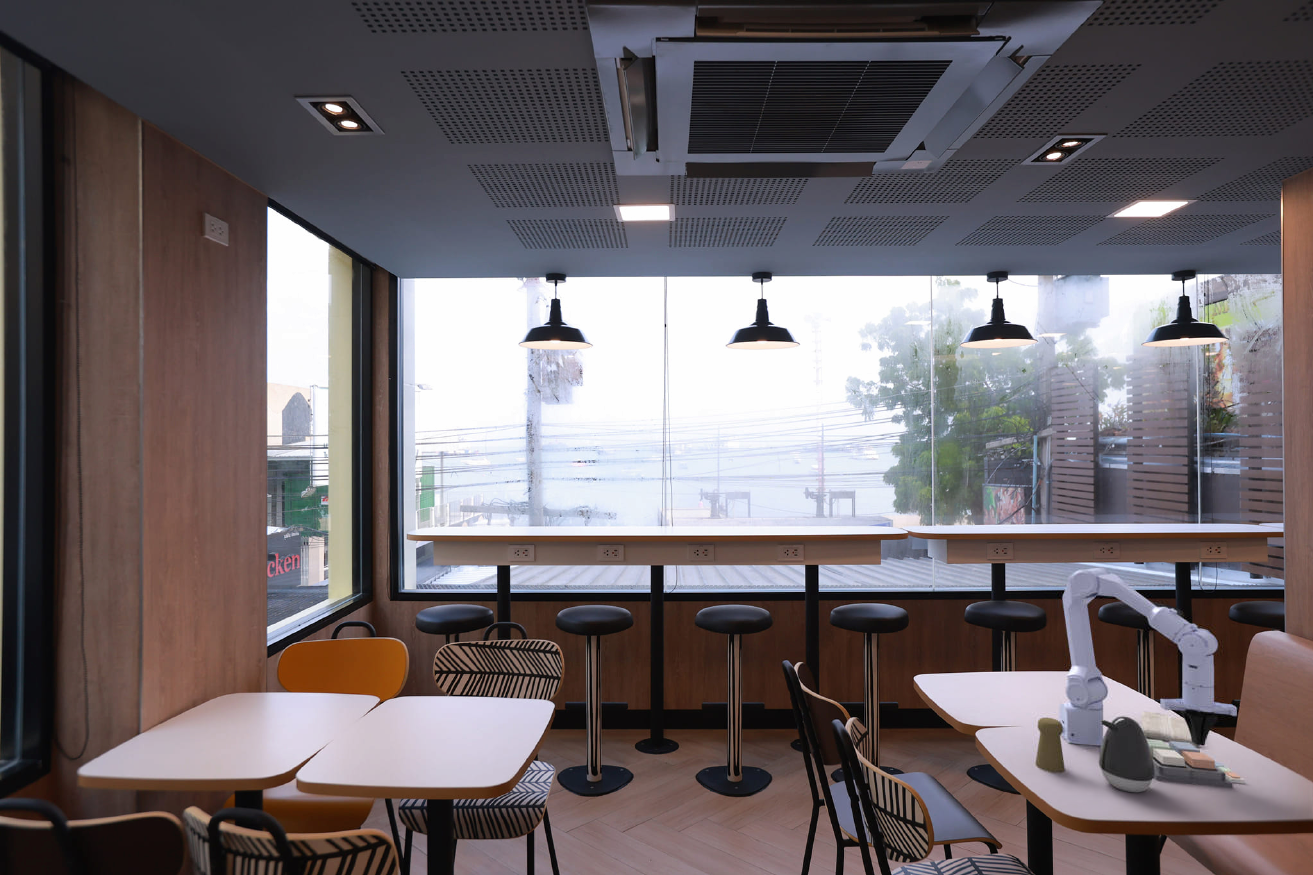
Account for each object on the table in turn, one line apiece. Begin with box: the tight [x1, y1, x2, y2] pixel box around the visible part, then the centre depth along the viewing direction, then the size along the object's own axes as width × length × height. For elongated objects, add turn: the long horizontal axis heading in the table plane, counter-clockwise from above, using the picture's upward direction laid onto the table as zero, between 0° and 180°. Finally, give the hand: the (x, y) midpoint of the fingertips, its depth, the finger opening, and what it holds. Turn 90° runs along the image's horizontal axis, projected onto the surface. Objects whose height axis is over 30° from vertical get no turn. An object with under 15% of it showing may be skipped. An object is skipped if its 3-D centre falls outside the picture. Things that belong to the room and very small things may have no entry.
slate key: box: [1168, 741, 1201, 756], centre depth 166 cm, size 4×4×2 cm
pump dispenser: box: [1098, 715, 1155, 793], centre depth 154 cm, size 10×10×15 cm
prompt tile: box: [1215, 761, 1244, 784], centre depth 162 cm, size 2×9×1 cm, turn 168°
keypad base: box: [1152, 754, 1234, 789], centre depth 164 cm, size 15×15×3 cm
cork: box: [1035, 717, 1066, 774], centre depth 164 cm, size 6×6×11 cm
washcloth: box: [1140, 710, 1199, 748], centre depth 187 cm, size 12×18×3 cm, turn 147°
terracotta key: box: [1182, 751, 1216, 769], centre depth 160 cm, size 4×4×2 cm
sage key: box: [1146, 738, 1171, 754], centre depth 167 cm, size 4×4×2 cm
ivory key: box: [1153, 749, 1185, 766], centre depth 162 cm, size 4×4×2 cm
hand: (1198, 743), depth 160 cm, fingers closed
